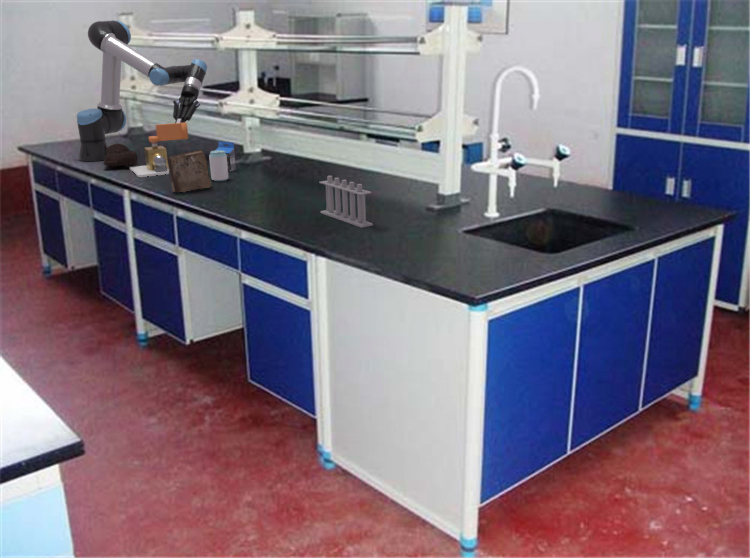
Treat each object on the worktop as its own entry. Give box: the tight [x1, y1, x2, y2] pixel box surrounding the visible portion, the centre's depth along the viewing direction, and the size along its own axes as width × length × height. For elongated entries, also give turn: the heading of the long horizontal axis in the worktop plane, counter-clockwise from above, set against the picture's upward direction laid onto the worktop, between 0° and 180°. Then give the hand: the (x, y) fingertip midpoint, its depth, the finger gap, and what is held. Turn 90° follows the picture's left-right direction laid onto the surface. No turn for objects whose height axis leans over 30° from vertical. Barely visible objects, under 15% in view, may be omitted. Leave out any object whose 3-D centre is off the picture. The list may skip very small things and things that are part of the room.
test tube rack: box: [318, 175, 374, 229], centre depth 256 cm, size 25×4×13 cm, turn 35°
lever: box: [148, 122, 189, 143], centre depth 344 cm, size 17×4×7 cm, turn 110°
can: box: [208, 149, 229, 182], centre depth 322 cm, size 7×7×12 cm
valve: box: [143, 142, 168, 172], centre depth 345 cm, size 20×8×12 cm, turn 27°
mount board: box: [129, 164, 170, 178], centre depth 346 cm, size 22×21×1 cm
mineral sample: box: [167, 149, 213, 194], centre depth 304 cm, size 17×4×15 cm, turn 126°
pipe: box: [102, 143, 139, 168], centre depth 356 cm, size 10×15×15 cm
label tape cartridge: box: [215, 141, 237, 173], centre depth 341 cm, size 9×4×12 cm, turn 62°
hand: (176, 132), depth 347 cm, fingers closed
